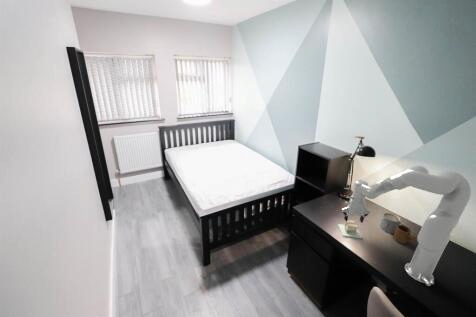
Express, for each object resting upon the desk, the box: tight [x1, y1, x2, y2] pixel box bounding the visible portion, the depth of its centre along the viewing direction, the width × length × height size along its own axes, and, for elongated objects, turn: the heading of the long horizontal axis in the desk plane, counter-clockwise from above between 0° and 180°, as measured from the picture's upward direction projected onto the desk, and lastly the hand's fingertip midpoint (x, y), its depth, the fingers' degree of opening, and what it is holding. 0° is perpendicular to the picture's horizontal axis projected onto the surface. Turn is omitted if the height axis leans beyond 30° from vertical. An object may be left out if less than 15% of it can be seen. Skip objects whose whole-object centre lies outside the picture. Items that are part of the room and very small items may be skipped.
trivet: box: [337, 223, 363, 239], centre depth 151 cm, size 12×12×1 cm
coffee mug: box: [379, 212, 406, 234], centre depth 152 cm, size 13×10×10 cm
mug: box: [393, 224, 417, 245], centre depth 140 cm, size 12×8×9 cm, turn 18°
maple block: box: [343, 219, 358, 234], centre depth 149 cm, size 6×6×6 cm
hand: (353, 220), depth 147 cm, fingers open, 9 cm apart
